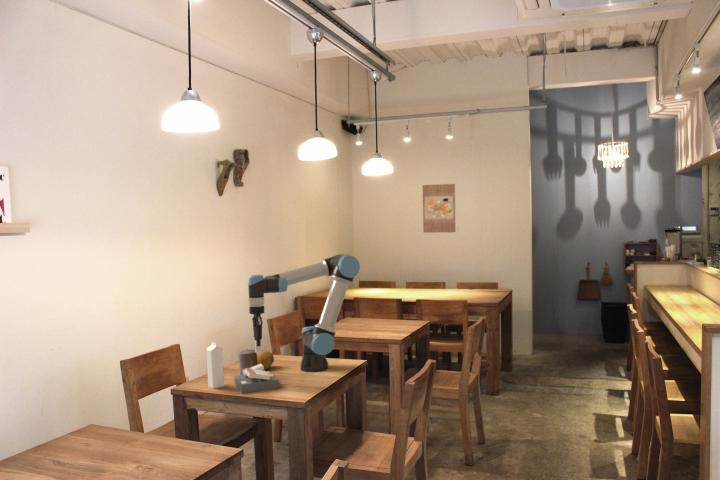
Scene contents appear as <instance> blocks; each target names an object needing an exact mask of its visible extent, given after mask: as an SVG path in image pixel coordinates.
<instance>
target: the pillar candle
mask: <svg viewBox="0 0 720 480" xmlns="http://www.w3.org/2000/svg"><path fill="white" fill-rule="evenodd" d="M257 354H258V353H256V352H255V349H245V350H244V349H243V350H241V351H238V352H237V356H238V373H239V375H243V372H242V370H244V369H245V368H251V367H253V366H256V365H257ZM239 375H238V376H239Z"/></svg>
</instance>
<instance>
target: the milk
mask: <svg viewBox="0 0 720 480" xmlns="http://www.w3.org/2000/svg"><path fill="white" fill-rule="evenodd" d="M205 349H206V367H207V386H208V388H211V389H217V388H223V387H225V374H224V356H223V354H224V353H223V348H221V347H219V346H218V345H217V342H214V341H211V345H209V346H208V347H207V348H205Z"/></svg>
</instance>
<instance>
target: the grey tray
mask: <svg viewBox="0 0 720 480" xmlns="http://www.w3.org/2000/svg"><path fill="white" fill-rule="evenodd" d="M266 372H267V373H268V374H269V375H270V379H269V380H267V379H258V378H249V377H248V376H246V377H245V376H244V375H234V377H233V379H234V385H235V386H236V388H237V389H238V391H239V392H240V393H241V394H247V393H253V392H259V391H267V390H274V389H279V388H280V384H279V378H277V377H276V376H275V375H274V374H273V373H272V372H271V371H266Z"/></svg>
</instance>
